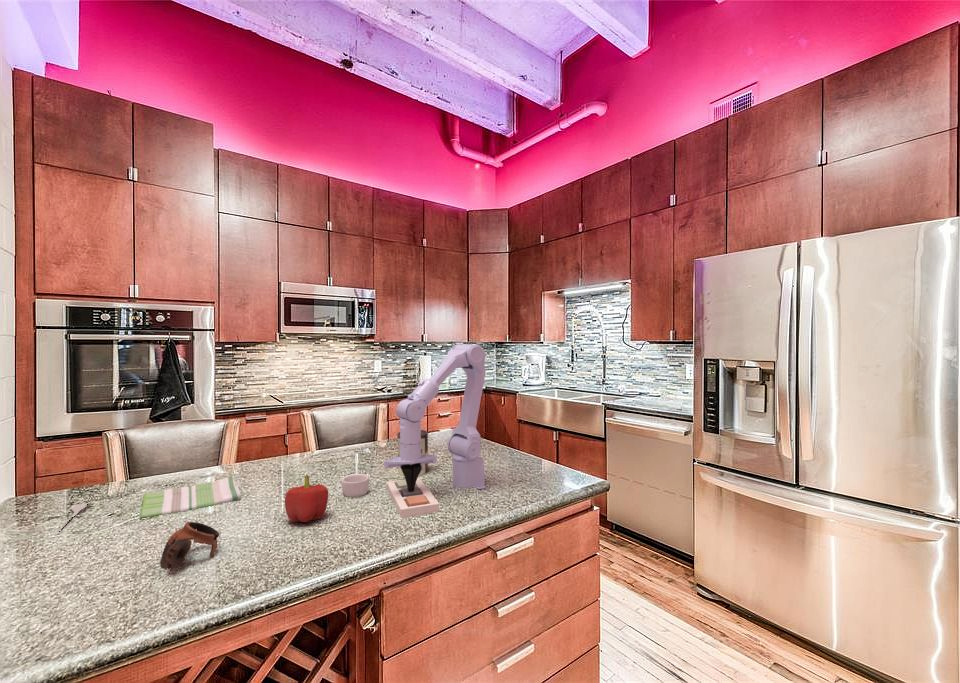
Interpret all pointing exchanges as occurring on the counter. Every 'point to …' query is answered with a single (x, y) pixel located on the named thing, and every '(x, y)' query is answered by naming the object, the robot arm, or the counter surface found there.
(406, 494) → the key charcoal
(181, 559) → the brown curved piece
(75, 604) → the counter surface
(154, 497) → the dish towel
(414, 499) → the key terracotta
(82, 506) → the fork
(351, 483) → the teacup
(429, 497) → the pink tray
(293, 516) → the vegetable
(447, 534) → the counter surface
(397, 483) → the key sage
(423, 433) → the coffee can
